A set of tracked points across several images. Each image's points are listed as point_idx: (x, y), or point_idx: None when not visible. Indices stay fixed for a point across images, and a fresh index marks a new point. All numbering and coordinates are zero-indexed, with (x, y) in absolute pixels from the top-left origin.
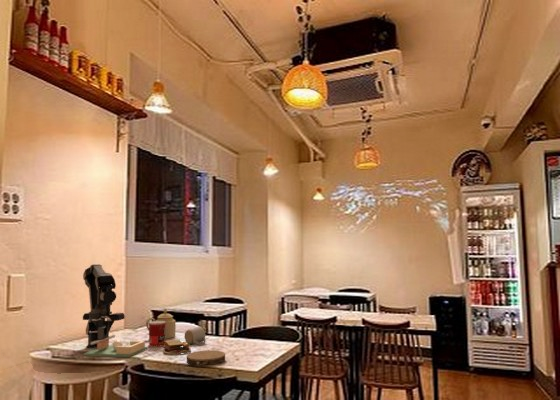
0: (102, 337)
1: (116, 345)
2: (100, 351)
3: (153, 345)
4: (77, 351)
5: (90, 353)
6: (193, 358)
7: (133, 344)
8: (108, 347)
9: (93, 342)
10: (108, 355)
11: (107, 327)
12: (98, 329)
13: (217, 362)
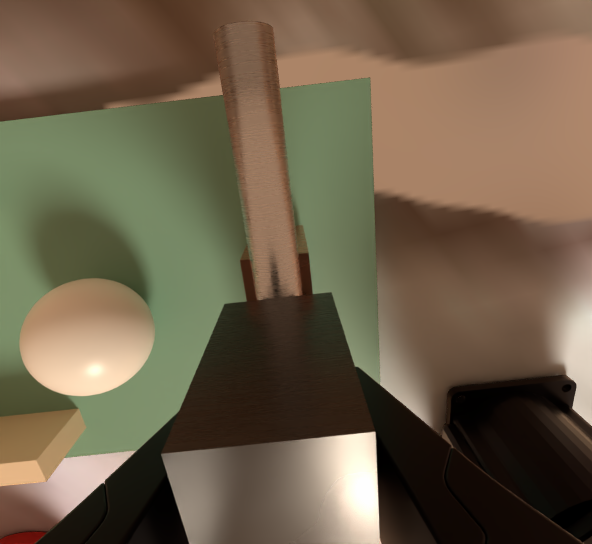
0: (240, 312)
1: (48, 292)
2: None
3: (20, 536)
4: (561, 230)
5: (284, 88)
6: None
7: (18, 437)
8: None
9: (218, 53)
10: (48, 118)
11: (73, 512)
12: (348, 398)
13: None
